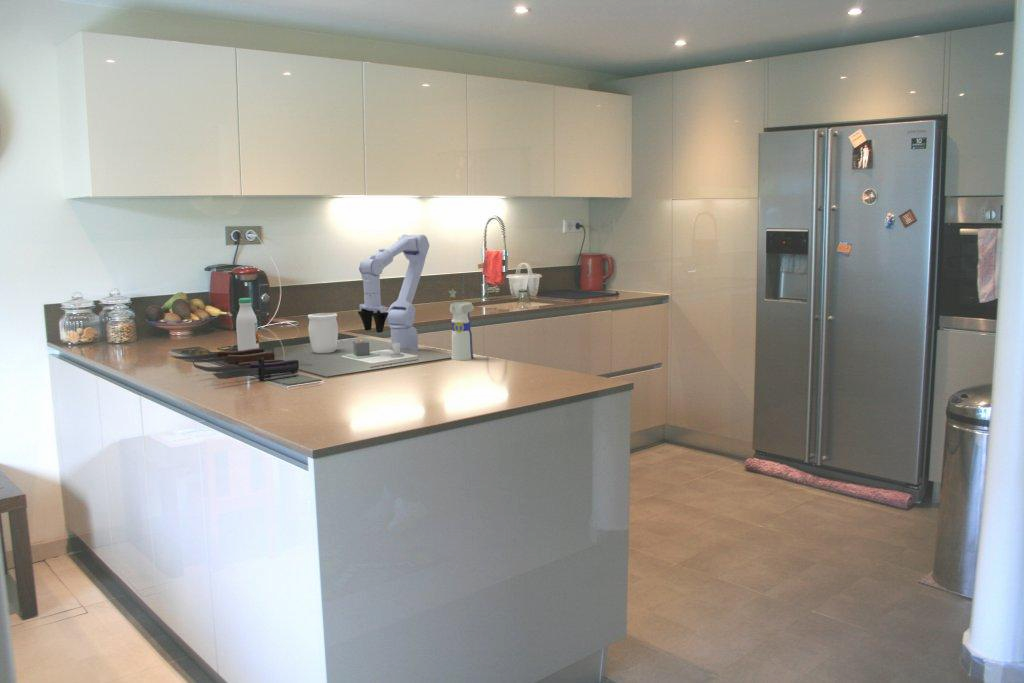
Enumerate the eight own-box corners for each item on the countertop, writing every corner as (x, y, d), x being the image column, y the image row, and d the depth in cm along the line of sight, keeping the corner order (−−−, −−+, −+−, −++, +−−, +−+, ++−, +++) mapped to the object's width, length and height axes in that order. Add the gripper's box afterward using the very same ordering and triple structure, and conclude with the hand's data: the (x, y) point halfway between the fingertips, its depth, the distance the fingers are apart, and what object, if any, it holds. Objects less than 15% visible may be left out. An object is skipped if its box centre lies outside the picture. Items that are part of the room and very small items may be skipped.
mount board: (386, 353, 304) (385, 337, 303) (418, 360, 290) (417, 343, 289) (340, 360, 292) (340, 343, 291) (371, 367, 277) (370, 349, 276)
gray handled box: (353, 354, 293) (352, 339, 292) (366, 353, 294) (365, 338, 294) (356, 356, 289) (356, 341, 288) (369, 355, 290) (369, 340, 290)
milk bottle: (252, 352, 312) (249, 299, 309) (234, 352, 313) (230, 299, 310) (263, 349, 319) (259, 297, 316) (244, 348, 321) (240, 297, 318)
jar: (303, 356, 301) (301, 315, 299) (322, 352, 310) (320, 312, 308) (326, 358, 296) (324, 316, 294) (345, 353, 305) (343, 313, 303)
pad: (366, 352, 298) (365, 351, 298) (379, 355, 291) (379, 354, 291) (343, 355, 292) (343, 354, 292) (357, 359, 285) (357, 357, 285)
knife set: (168, 369, 274) (168, 346, 273) (264, 361, 295) (264, 340, 294) (207, 388, 247) (206, 363, 246) (309, 378, 268) (309, 354, 267)
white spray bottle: (471, 360, 286) (469, 288, 282) (447, 360, 288) (445, 288, 284) (477, 356, 294) (475, 286, 290) (454, 356, 296) (452, 286, 292)
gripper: (351, 292, 296) (353, 330, 298) (373, 295, 285) (375, 334, 287) (368, 291, 300) (370, 328, 302) (391, 293, 289) (392, 332, 292)
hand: (373, 331), depth 295 cm, fingers open, 7 cm apart
